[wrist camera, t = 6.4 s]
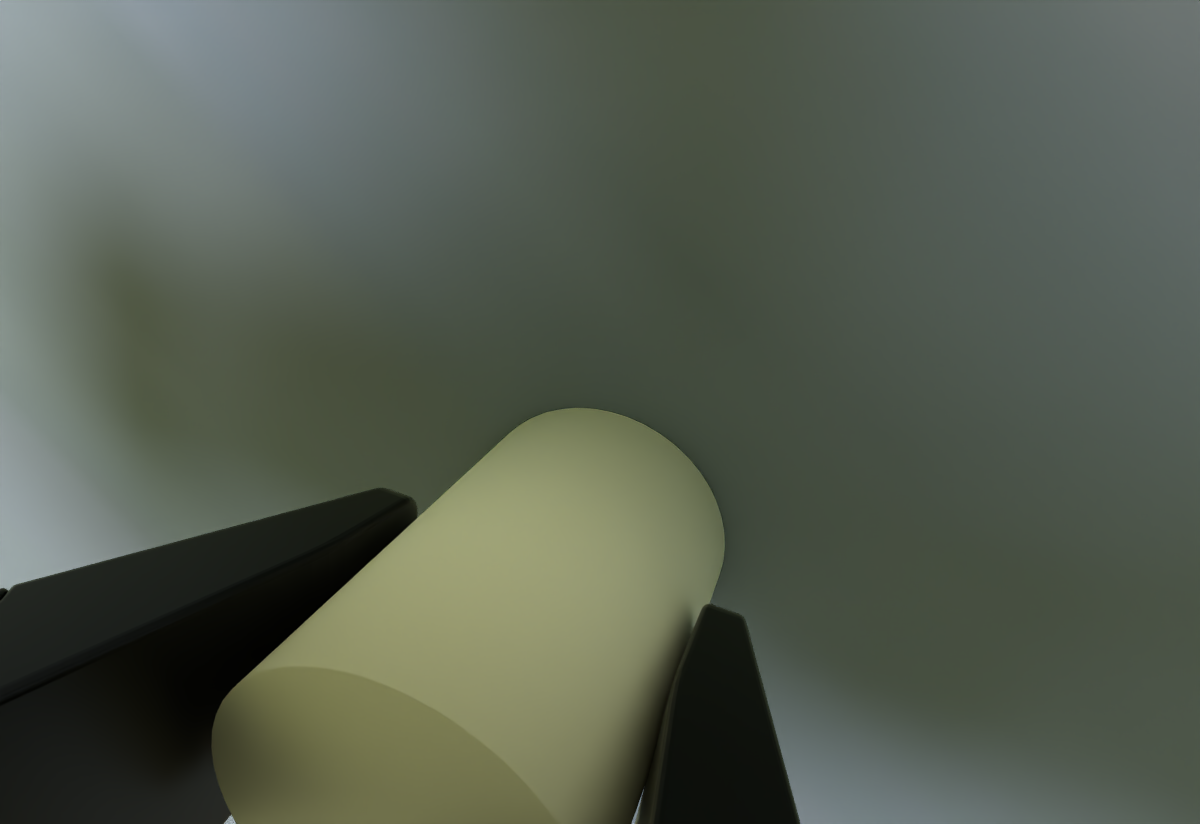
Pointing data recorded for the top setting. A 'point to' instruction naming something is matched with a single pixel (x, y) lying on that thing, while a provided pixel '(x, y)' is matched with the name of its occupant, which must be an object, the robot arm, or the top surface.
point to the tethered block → (491, 646)
